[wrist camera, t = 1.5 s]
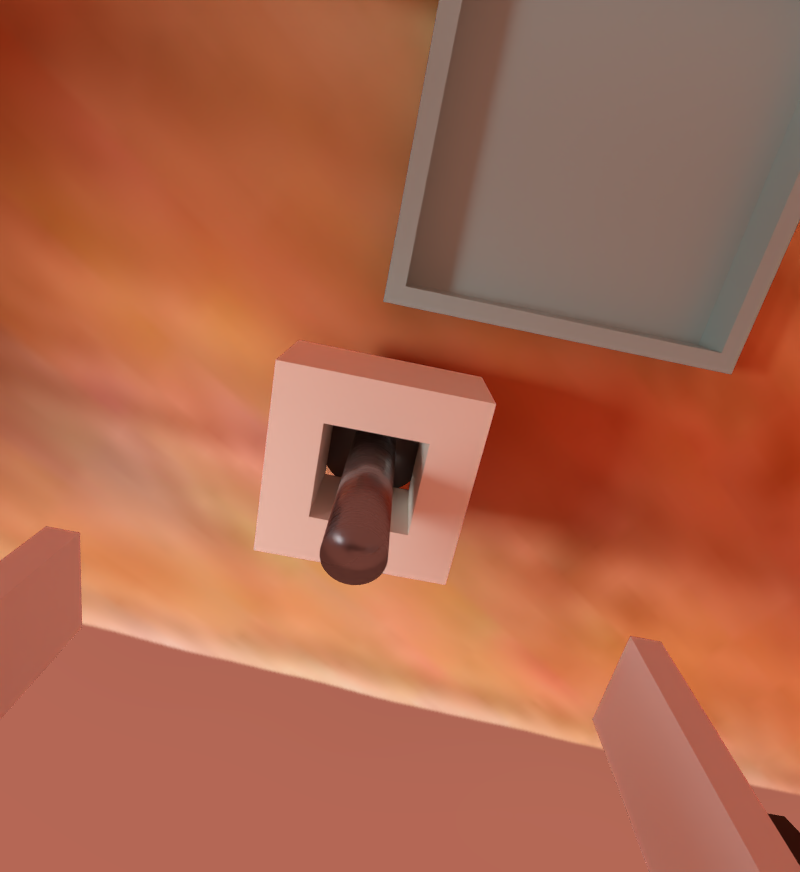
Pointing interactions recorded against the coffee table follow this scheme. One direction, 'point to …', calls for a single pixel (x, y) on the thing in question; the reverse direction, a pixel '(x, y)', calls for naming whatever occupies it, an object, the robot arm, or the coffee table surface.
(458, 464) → the ring
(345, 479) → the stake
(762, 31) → the tray
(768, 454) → the coffee table surface
